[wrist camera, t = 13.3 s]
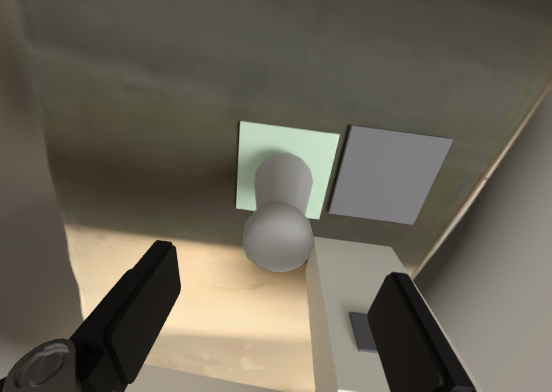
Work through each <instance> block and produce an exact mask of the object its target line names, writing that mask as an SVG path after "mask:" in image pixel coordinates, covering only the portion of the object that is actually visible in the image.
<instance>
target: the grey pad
mask: <svg viewBox="0 0 552 392" xmlns="http://www.w3.org/2000/svg"><path fill="white" fill-rule="evenodd" d="M453 140H454V139H451V138H445V137H437V136H430V135H423V134H415V133H408V132H400V131H393V130H385V129H378V128H371V127H363V126H356V125H351V126H350V130H349V134H348V138H347V141H346V145H345V149H344V153H343V157H342V161H341V164H340V168H339V172H338V176H337V180H336V184H335V187H334V191H333V195H332V199H331V203H330V206H329V210H328V211H329V213H331V214H339V215H346V216H354V217H361V218H369V219H376V220H384V221H391V222H399V223H406V224H414V222H415V220H416V218H417V216H418V213H419V211H420V209H421V207H422V205H423V203H424V201H425V199H426V197H427V194H428V192H429V190H430V188H431V186H432V184H433V182H434V180H435V178H436V175H437V173H438V171H439V169H440V167H441V165H442V163H443V161H444V159H445V156H446V154H447V152H448V150H449V148H450V146H451V144H452V142H453Z"/></svg>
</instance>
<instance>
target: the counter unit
mask: <svg viewBox="0 0 552 392" xmlns="http://www.w3.org/2000/svg"><path fill="white" fill-rule="evenodd" d="M391 272H399V273H406V274H408V273H407V271H406V270H405V268H404V267H403V265H402V263H401V262H400V260H399V259H398V257H397V256H396V254H395V252H394V251H393V249H392V248H391V247H389V246H381V245H374V244H366V243H359V242H351V241H343V240H336V239H328V238H321V237H314V243H313V248H312V251H311V254H310V257H309V258H308V262H307V266H306V270H305V274H306V286H307V297H308V309H309V321H310V332H311V344H312V356H313V368H314V379H315V391H316V392H390V389H389V386H388V383H387V380H386V377H385V373H384V370H383V367H382V364H381V361H380V357H379V354H378V351H377V348H376V345H375V342H374V338H373V335H372V332H371V329H370V326H369V322H368V318H367V314H368V311H369V309H370V307H371V305H372V303H373V301H374V299H375V297H376V295H377V293H378V291H379V289H380V287H381V285H382V283H383V281H384V279H385V277H386V276H387V275H390V273H391ZM408 275H409V274H408ZM409 277H410V276H409ZM411 280H412V279H411ZM412 282H413V281H412ZM414 285H415V284H414ZM415 287H416V285H415ZM416 288H417V287H416ZM417 290H418V288H417ZM418 292H419V290H418ZM419 293H420V292H419ZM420 295H421V293H420ZM421 297H422V298H423V296H422V295H421ZM423 300H424V302H425V304H426V305H427V307H428V309H429V310H430V312H431V314H432V315H433V317H434V319H435V320H436V322H437V324H438V325H439V327H440V329H441V331H442V332H443V334H444V336H445V337H446V339H447V341H448V342H449V344H450V346H451V347H452V349H453V351H454V353H455V354H456V356H457V358H458V359H459V361H460V363H461V364H462V366H463V368H464V369H465V371H466V373H467V375H468V376H469V378H470V380H471V381H472V383H473V385H474V386H475V389H476V391H477V392H483V390H482V389H481V387H480V386H479V384H478V383H477V381H476V379H475V378H474V376H473V375H472V373H471V372H470V370H469V368H468V367H467V365H466V364H465V362H464V361H463V359H462V358H461V356H460V354H459V353H458V351H457V350H456V348H455V347H454V345H453V343H452V342H451V340H450V339H449V337H448V336H447V334H446V333H445V331H444V329H443V328H442V326H441V325H440V323H439V321H438V320H437V318H436V317H435V315H434V314H433V312H432V310H431V309H430V307H429V306H428V304H427V303H426V301H425V299H424V298H423Z"/></svg>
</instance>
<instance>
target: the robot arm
mask: <svg viewBox="0 0 552 392" xmlns="http://www.w3.org/2000/svg"><path fill="white" fill-rule="evenodd" d="M180 290H181V283H180V276H179V268H178V260H177V252H176V247H175V246H173V245H172V242H168V241H161V240H157V241H155V242H154V243H153V245H152V246H151V247H150V248H149V249H148V251H147V252H146V253H145V254H144V255H143V257H142V258H141V259H140V260H139V261H138V263H137V264H136V265H135V266H134V267H133V269H130V270H128V271H127V272H126V273H125V274H124V275H123V276H122V277H121V278H120V280H119V281H118V282H117V283H116V284H115V286H114V287H113V288H112V289H111V290H110V291H109V293H108V294H107V295H106V296H105V297H104V298H103V300H102V301H101V302H100V303H99V304H98V305H97V307H96V308H95V309H94V310H93V311H92V313H91V314H90V315H89V316H88V317H87V318H86V320H85V321H84V322H83V323H82V324H81V325H80V327H79V328H78V329H77V330H76V331H75V333H74V334H73V335H72V336H71V337H70V338H69V339H65V338H60V339H53V340H50V341H47V342H44V343H42V344H40V345H38V346H37V347H35V348H33V349H32V350H30V351H29V352H28V353H26V354H25V355H24V356H23V357H22V358H20V359H19V360H18V361H17V362H16V363H15V365H14V366H13V367H12V369H11V370H10V371H9V373H8V375H7V377H5V378H3V379H1V380H0V392H124V391H125V389H126V387H127V385H128V384H131V383H133V382H134V380H135V379H136V377H137V375H138V373H139V371H140V369H141V367H142V365H143V364H144V362H145V360H146V358H147V356H148V354H149V352H150V350H151V348H152V346H153V344H154V342H155V340H156V338H157V337H158V335H159V333H160V331H161V329H162V327H163V325H164V323H165V321H166V319H167V317H168V315H169V313H170V311H171V309H172V308H173V306H174V304H175V302H176V300H177V298H178V296H179V294H180ZM367 318H368V322H369V326H370V329H371V332H372V335H373V338H374V342H375V345H376V348H377V351H378V354H379V357H380V361H381V364H382V367H383V370H384V373H385V377H386V380H387V383H388V386H389V389H390V392H477V391H476V389H475V386H474V385H473V383H472V381H471V380H470V378H469V376H468V375H467V373H466V371H465V369H464V368H463V366H462V364H461V363H460V361H459V359H458V358H457V356H456V354H455V353H454V351H453V349H452V347H451V346H450V344H449V342H448V341H447V339H446V337H445V336H444V334H443V332H442V331H441V329H440V327H439V325H438V324H437V322H436V320H435V319H434V317H433V315H432V314H431V312H430V310H429V309H428V307H427V305H426V304H425V302H424V300H423V298H422V297H421V295H420V293H419V292H418V290H417V288H416V287H415V285H414V283H413V282H412V280H411V278H410V277H409V275H408V274H406V273H399V272H391V273H390V275H387V276H386V277H385V279H384V281H383V283H382V285H381V287H380V289H379V291H378V293H377V295H376V297H375V299H374V301H373V303H372V305H371V307H370V309H369V311H368V314H367Z"/></svg>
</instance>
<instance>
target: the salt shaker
mask: <svg viewBox="0 0 552 392" xmlns="http://www.w3.org/2000/svg"><path fill="white" fill-rule="evenodd" d="M312 185H313V178H312V174H311V170H310V168H309V167H308V166H307V164H306V163H305V162H304V161H303V160H302V158H300V157H298V156H295V155H293V154H291V153H275V154H273V155H271V156H269V157H267V158H266V159H264V160H263V161H262V163H261V164H260V165H259V167H258V168H257V170H256V172H255V180H254V188H255V199H256V210H255V211H254V213H253V214H252V215H251V216H250V218H249V219H248V220H247V222H246V224H245V227H244V235H243V248H244V250H245V253H246V255H247V258H248V259H250V260H251V261H252V262H253V263H254V264H255V265H257V266H258V267H260V268H263V269H265V270H268V271H271V272H287V271H290V270H293V269H296V268H298V267H300V266H301V265H302V264H303V263H304V262H305V261H306V260H307V259H308V258H309V257H310V254H311V251H312V248H313V243H314V237H313V233H312V230H311V226H310V222H309V220H308V219H307V217H306V216H305V214H306V209H307V205H308V201H309V197H310V193H311V189H312Z"/></svg>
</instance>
